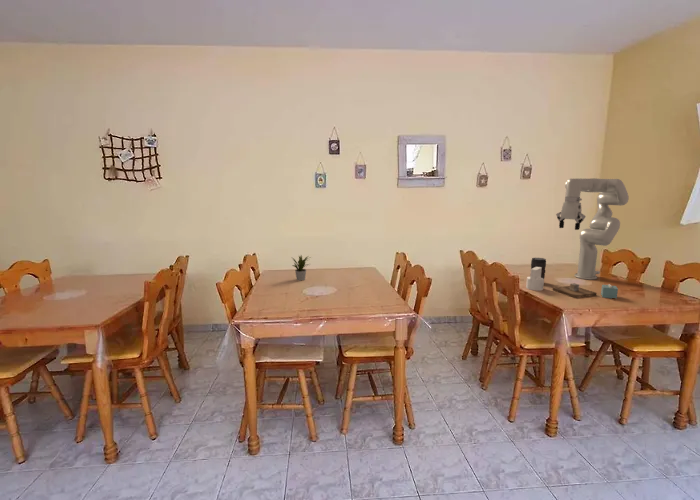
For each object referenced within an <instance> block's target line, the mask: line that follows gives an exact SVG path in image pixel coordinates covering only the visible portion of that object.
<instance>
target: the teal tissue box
mask: <svg viewBox="0 0 700 500" xmlns="http://www.w3.org/2000/svg"><path fill="white" fill-rule="evenodd" d="M618 292H619V288H618V286H616V285H611V284H610V283H608V284H602V285H601V292H600V295H602V296H601V297H602V298H605V299H612V298H616V299H615V300H617V299H618Z"/></svg>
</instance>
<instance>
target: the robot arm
mask: <svg viewBox="0 0 700 500" xmlns="http://www.w3.org/2000/svg"><path fill="white" fill-rule="evenodd" d="M564 187H565V197H564V202H563V203H562V206H561V211H560V212H557V213H556V214H555V215H556V217H557V220H558V222H559V225H558V227H559V229H563V228H564V227H565V220H574V222H575V225H574V230H575V231H578V230H580V228H581V227H580V226H581V223H582V222H583V221H584V220H585V218H586V215H585V214H583V213H582V203H581V201H582V200H583V199H582V197H581V194H582V193H581V192H583V193H598V194H597V196H596V205H597V210H596V213H595V214H594V216H593V218H592V219H591V220H590V222H589V228H584V229H582V230H581V231H580V232H579V244H580V245H579V253H578V254H579V255H578V264H577V273H576V272H575V273H574V276H573V277H575V278H578V279H582V280H590V281H591V280H597V279H598V276H597V275H599V274H601V272H600V270H596V266H597V258H598V249H597V246H603V247H605V246H606V247H607V246H609V245H610V244H611V243H612V242H613V240H614V238H615V237H616V235H617V233H619V231H620V230H619V229H620V227H621V221H620V219H619V218H617V217H612V216H613V212H612V210H611V208H610V207H609V206H625V205H626V204H627V203H628V202H629V193H628V190H627V188H626V185H625V184H624V182H623V181H622V179H619V178H597V177H596V178H569V179H567V180H566V181H565V185H564Z"/></svg>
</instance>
